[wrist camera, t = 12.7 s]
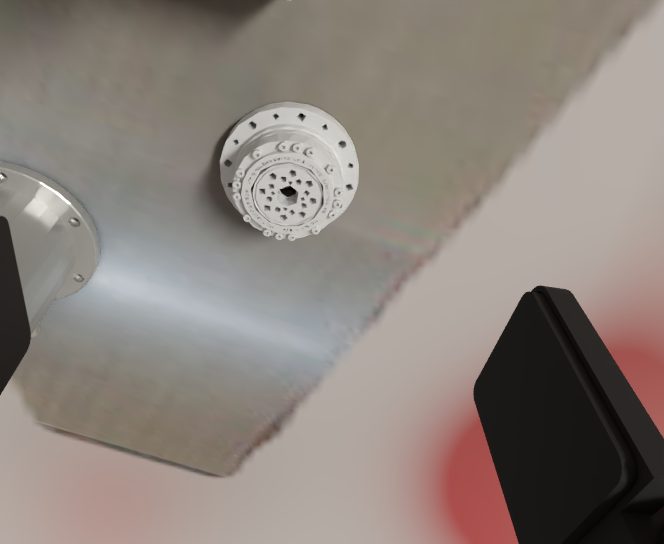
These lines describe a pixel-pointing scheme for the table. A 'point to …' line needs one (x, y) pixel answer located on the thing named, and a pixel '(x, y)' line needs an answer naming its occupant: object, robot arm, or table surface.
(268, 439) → the table surface
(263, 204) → the mechanical component
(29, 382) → the table surface
